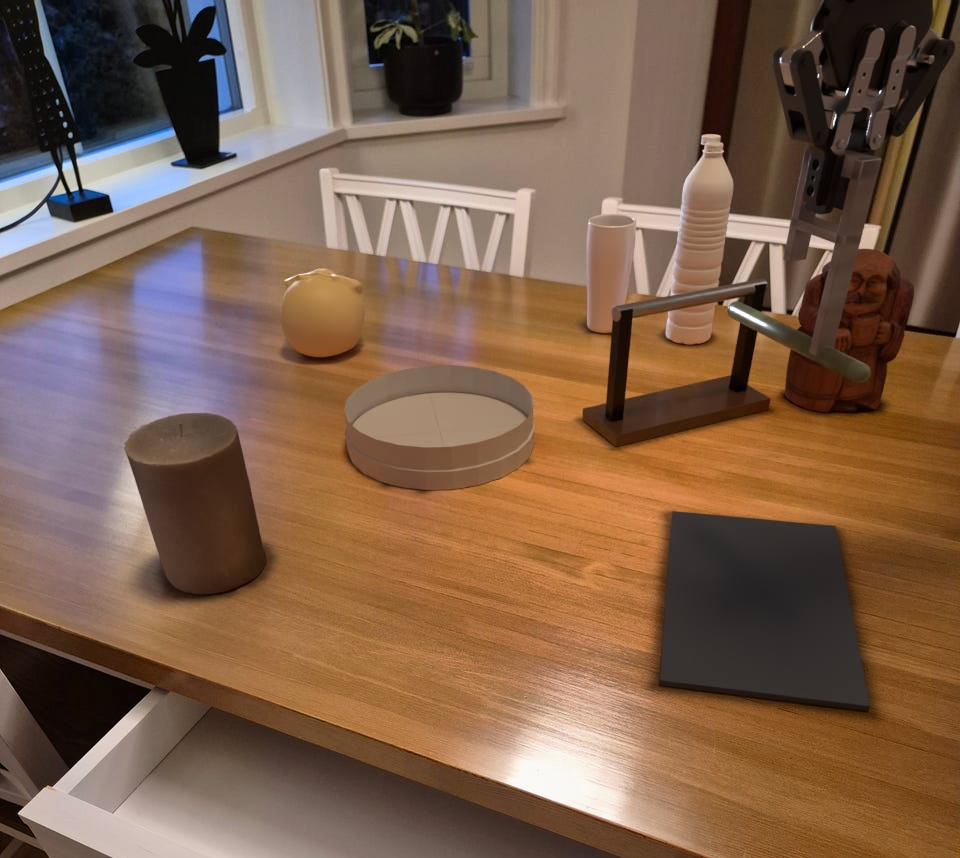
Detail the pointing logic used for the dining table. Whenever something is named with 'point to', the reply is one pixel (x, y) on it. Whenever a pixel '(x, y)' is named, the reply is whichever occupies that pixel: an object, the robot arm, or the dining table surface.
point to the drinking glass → (608, 267)
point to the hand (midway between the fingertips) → (830, 208)
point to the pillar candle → (197, 501)
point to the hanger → (839, 273)
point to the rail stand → (684, 403)
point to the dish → (439, 427)
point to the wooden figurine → (853, 335)
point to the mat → (760, 612)
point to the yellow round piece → (322, 313)
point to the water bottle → (700, 241)
